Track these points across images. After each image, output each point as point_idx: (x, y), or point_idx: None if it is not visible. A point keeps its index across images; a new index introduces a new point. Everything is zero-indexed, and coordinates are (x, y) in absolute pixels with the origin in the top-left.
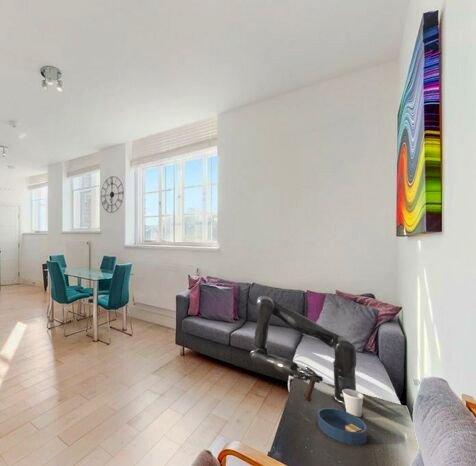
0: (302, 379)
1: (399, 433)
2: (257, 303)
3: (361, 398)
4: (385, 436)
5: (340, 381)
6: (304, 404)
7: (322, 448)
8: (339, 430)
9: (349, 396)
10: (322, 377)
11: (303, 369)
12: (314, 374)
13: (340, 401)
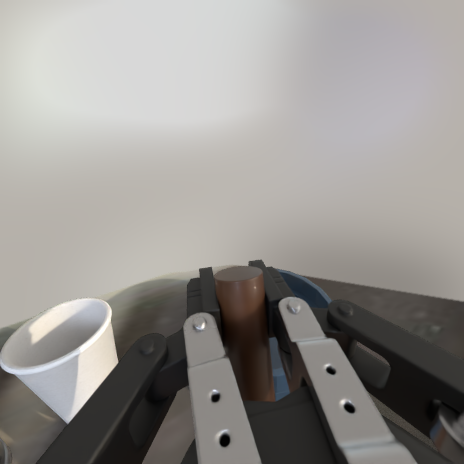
0: (384, 367)
1: (127, 296)
2: None
3: (92, 298)
4: (170, 298)
5: None
6: None
7: (379, 312)
8: (312, 283)
9: (109, 319)
10: (199, 270)
11: (257, 447)
12: (253, 269)
13: None
